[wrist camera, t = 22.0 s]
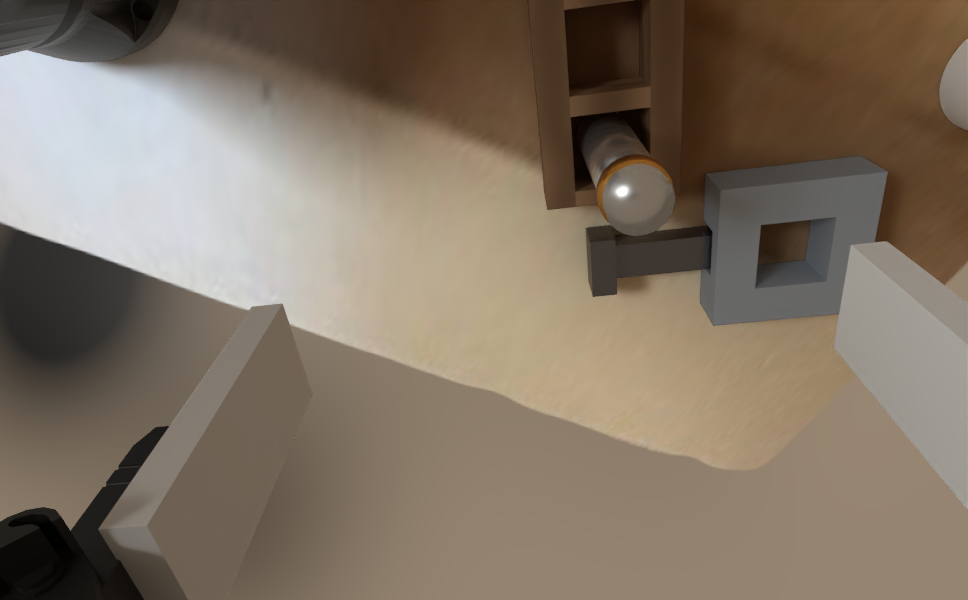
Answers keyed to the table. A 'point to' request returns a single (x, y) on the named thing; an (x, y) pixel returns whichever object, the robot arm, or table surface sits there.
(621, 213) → the rod
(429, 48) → the table surface
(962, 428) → the robot arm
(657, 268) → the dark grey t-shaped block
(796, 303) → the socket block
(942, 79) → the cup
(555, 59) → the rack
